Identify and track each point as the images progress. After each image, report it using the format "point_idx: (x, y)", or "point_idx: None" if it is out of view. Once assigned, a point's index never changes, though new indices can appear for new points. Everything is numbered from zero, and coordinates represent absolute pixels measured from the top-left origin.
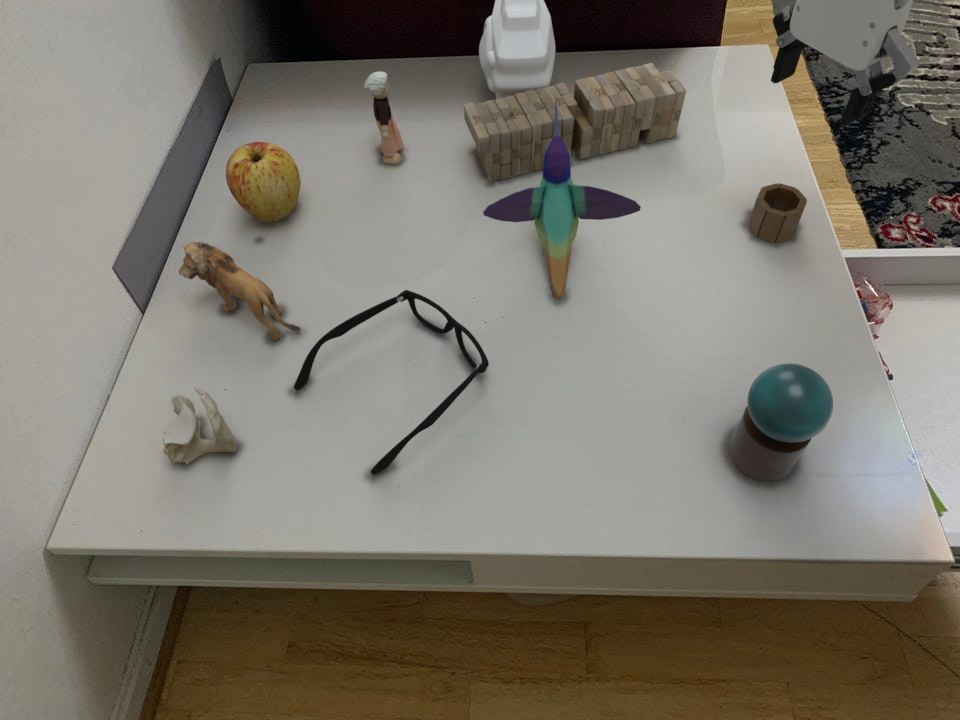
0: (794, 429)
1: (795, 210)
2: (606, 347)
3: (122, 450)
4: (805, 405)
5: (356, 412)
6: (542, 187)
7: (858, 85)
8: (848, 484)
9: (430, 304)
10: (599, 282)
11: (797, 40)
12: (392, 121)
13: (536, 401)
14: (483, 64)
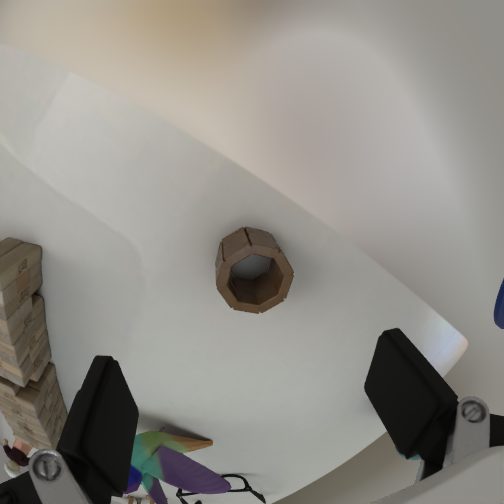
0: None
1: (285, 280)
2: (270, 436)
3: None
4: None
5: (226, 495)
6: (142, 481)
7: (419, 468)
8: (433, 364)
9: (193, 494)
10: (212, 421)
11: (91, 488)
12: (21, 446)
13: (275, 463)
14: None
